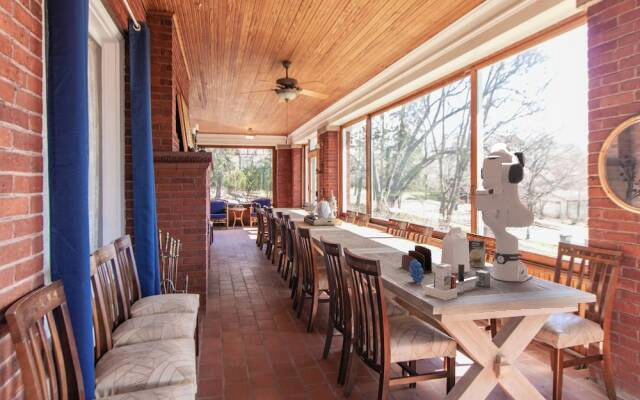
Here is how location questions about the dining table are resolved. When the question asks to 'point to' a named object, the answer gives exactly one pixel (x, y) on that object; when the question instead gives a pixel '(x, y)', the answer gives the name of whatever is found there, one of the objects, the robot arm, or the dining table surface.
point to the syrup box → (442, 276)
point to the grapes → (416, 271)
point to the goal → (440, 292)
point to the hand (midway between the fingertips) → (491, 219)
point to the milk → (455, 249)
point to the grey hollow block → (483, 278)
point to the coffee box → (477, 253)
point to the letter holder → (418, 258)
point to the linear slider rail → (462, 278)
